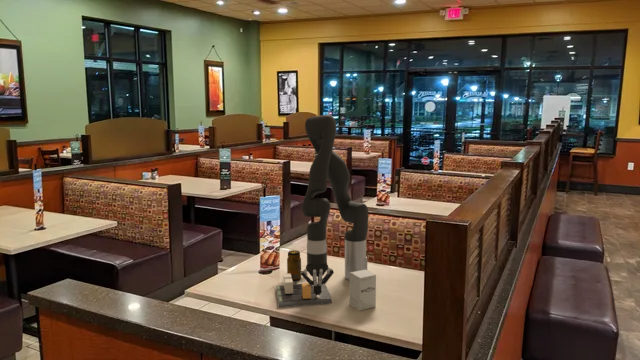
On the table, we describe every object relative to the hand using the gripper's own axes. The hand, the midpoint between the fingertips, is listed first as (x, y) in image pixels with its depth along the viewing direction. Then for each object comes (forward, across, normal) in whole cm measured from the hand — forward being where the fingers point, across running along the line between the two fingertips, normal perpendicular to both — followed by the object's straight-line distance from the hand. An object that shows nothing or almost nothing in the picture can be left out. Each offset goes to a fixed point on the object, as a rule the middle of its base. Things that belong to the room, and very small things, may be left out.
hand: (317, 294), depth 185 cm
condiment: (+3, +6, -27) cm, 28 cm away
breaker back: (+1, +10, -12) cm, 16 cm away
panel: (+3, +5, -6) cm, 8 cm away
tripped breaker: (+1, +4, 0) cm, 4 cm away
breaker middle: (+1, +10, -6) cm, 12 cm away
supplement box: (+3, -16, +6) cm, 18 cm away
